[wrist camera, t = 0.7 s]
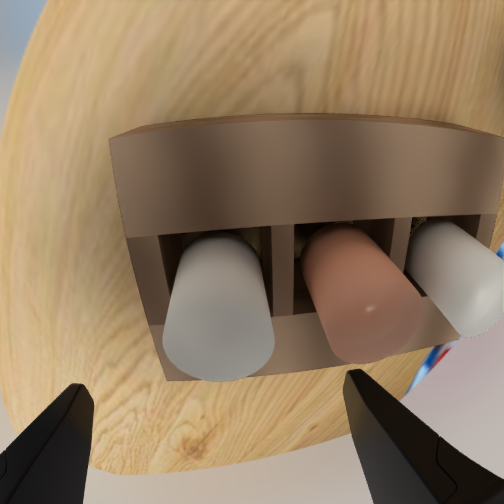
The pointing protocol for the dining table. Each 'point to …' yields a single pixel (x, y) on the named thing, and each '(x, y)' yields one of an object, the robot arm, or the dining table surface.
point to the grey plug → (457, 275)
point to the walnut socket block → (298, 204)
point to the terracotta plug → (359, 294)
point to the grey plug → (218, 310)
